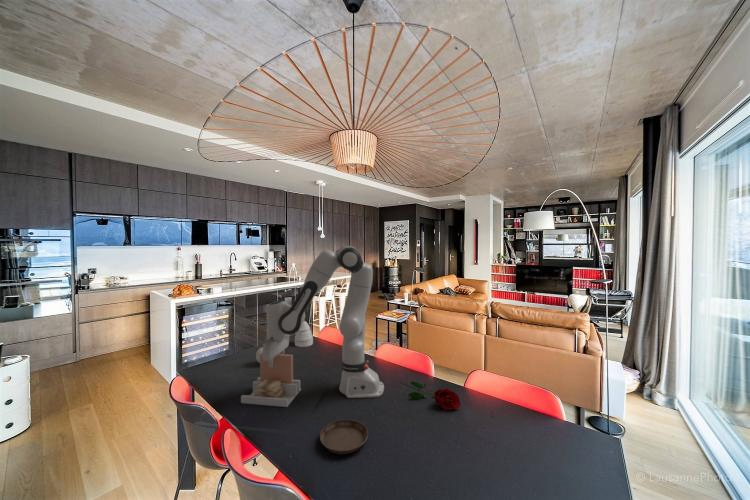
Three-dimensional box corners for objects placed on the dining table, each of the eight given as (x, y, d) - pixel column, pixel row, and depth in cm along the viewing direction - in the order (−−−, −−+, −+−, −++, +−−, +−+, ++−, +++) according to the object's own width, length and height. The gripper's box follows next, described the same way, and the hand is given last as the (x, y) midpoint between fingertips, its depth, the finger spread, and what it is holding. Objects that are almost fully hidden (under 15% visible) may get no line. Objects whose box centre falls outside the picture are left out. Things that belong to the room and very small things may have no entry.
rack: (301, 390, 142) (301, 378, 142) (287, 409, 126) (286, 395, 126) (260, 387, 145) (260, 375, 145) (241, 405, 129) (240, 392, 129)
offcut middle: (282, 390, 135) (282, 385, 135) (276, 397, 129) (276, 392, 129) (263, 389, 137) (263, 384, 137) (256, 396, 131) (256, 390, 131)
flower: (398, 371, 138) (460, 392, 124) (404, 373, 145) (464, 393, 131) (393, 391, 135) (457, 414, 120) (399, 392, 142) (460, 414, 128)
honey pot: (291, 345, 205) (290, 320, 204) (301, 340, 217) (301, 316, 217) (306, 347, 201) (306, 322, 200) (316, 341, 213) (316, 317, 213)
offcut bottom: (284, 396, 135) (284, 391, 135) (278, 403, 129) (278, 397, 129) (261, 394, 137) (261, 389, 137) (254, 401, 131) (254, 395, 131)
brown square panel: (293, 391, 139) (292, 354, 139) (291, 393, 137) (291, 356, 137) (262, 389, 142) (262, 352, 141) (260, 391, 140) (260, 354, 139)
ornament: (252, 365, 171) (252, 345, 171) (263, 359, 181) (263, 340, 181) (266, 367, 168) (266, 347, 168) (277, 360, 178) (277, 341, 178)
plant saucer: (344, 420, 118) (344, 413, 118) (377, 439, 107) (377, 431, 107) (309, 443, 105) (309, 435, 105) (343, 467, 94) (343, 458, 93)
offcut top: (280, 385, 135) (280, 380, 135) (274, 392, 129) (274, 387, 129) (265, 384, 136) (265, 379, 136) (258, 391, 130) (258, 385, 130)
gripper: (271, 341, 128) (271, 372, 129) (291, 328, 148) (291, 354, 149) (258, 341, 129) (258, 371, 129) (279, 328, 149) (280, 354, 150)
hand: (276, 362), depth 139 cm, fingers open, 8 cm apart
